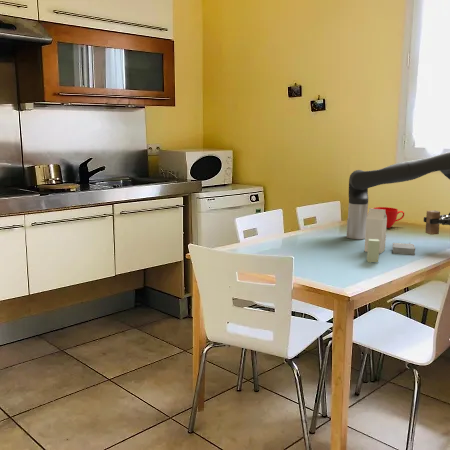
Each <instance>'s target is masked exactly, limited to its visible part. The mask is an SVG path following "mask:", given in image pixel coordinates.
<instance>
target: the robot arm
mask: <svg viewBox="0 0 450 450" xmlns="http://www.w3.org/2000/svg"><path fill="white" fill-rule="evenodd" d="M434 172H441V174H442V175H444V176H445V177H446V179H448V180H450V151H447V152H444V153H441V154H437V155H435V156H434V155H433V156H430V157H426V158H425V157H424V158H418V159H413V160H407V161H402V162H397V163H394V164H390V165H387V166H385V167H382V168H380V169H379V168H378V169H374V170H362V169H355V170H354V171H352V172H351V173H350V175H349V178H348V207H347V208H348V212H347V213H348V214H347V219H346V220H347V221H346V238H347V239H352V240H365V233H366V218H367V215H368V212H369V194H368V193H369V191H368V189H369V188H373V187H377V186H380V185H382V186H383V185H389V184H398V183H404V182H409V181H413V180H416V179H419V178H421V177H423V176H426V175H428V174H430V173H434ZM423 222H424V223H426V216H425V217H423ZM429 223H430V224H439V225H442V226H450V212H449V213H448V214H440V218H438V219H430V222H429Z"/></svg>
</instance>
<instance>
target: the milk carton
mask: <svg viewBox="0 0 450 450" xmlns="http://www.w3.org/2000/svg"><path fill="white" fill-rule="evenodd" d="M386 226H387V216H386V213H385V210H383V209H373V208H372V207H371V208H370V207H368V214H367V218H366V233H365V239H364V252H366V253H367V250H368V239H378V240H379V241H380V242H379V254H382V253H383V252H384V251H386V240H387V239H386V238H387V228H386Z"/></svg>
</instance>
